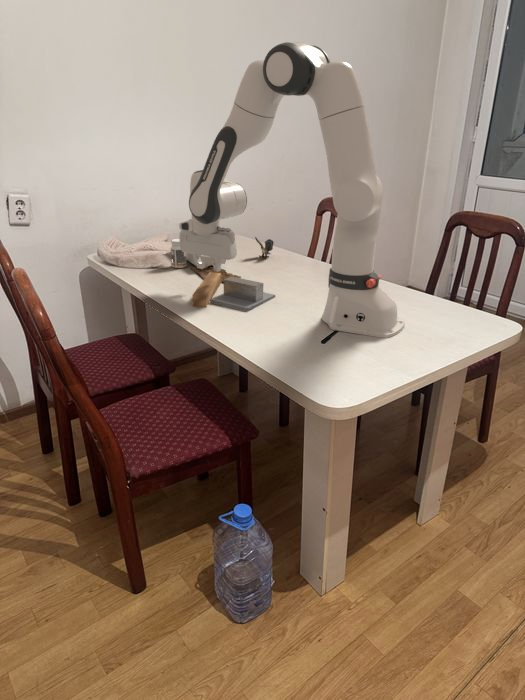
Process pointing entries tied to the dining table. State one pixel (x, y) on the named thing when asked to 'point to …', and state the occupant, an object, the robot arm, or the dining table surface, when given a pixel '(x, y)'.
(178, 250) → the pill bottle
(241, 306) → the ridge board
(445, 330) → the dining table surface
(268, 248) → the eagle figurine
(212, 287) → the wood batten
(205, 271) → the wooden fragment
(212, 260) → the decorative molding
